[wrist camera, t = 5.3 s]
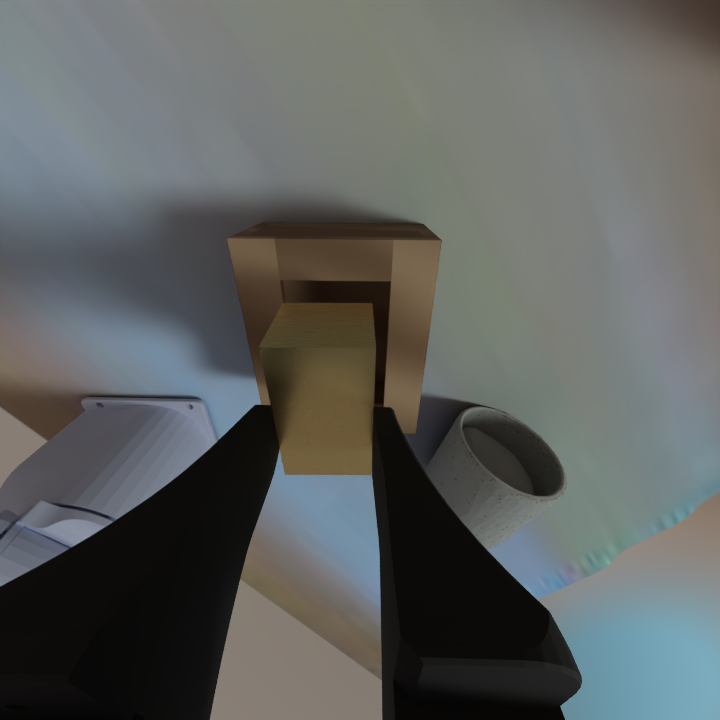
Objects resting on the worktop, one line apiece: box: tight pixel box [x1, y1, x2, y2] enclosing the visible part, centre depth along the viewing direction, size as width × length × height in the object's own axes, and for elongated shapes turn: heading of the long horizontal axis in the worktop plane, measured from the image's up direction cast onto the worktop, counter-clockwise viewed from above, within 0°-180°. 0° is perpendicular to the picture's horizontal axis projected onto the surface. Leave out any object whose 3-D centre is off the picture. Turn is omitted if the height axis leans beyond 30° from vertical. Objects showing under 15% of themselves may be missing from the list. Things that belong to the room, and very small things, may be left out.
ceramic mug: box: [425, 406, 567, 549], centre depth 23 cm, size 11×8×8 cm
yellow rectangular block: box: [259, 303, 376, 475], centre depth 12 cm, size 6×4×3 cm, turn 0°
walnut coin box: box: [227, 223, 442, 434], centre depth 18 cm, size 11×9×5 cm
